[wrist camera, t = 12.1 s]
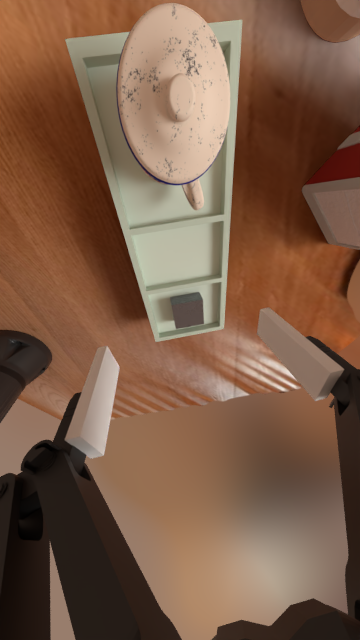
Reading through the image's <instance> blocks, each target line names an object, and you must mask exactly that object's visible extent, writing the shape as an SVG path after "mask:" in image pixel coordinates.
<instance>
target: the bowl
mask: <svg viewBox="0 0 360 640" xmlns="http://www.w3.org/2000/svg"><path fill="white" fill-rule="evenodd" d="M300 1H301V6H302V9H303V12H304V14H305V17H306V19H307V22H308V24H309V25H310V26H311V28H312V29H313V31H314V32H315V33H316V34H317V35H318V36H320V37H321V38H322V39H324V40H326V41H330V42H342V41H347V40H349V39H351V38H353V37H356V36H358V35H359V34H360V0H300Z"/></svg>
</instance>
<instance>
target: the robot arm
mask: <svg viewBox="0 0 360 640" xmlns="http://www.w3.org/2000/svg"><path fill="white" fill-rule="evenodd" d="M257 334H258V336H259V337H260V338H261V339H262V340H263V341H264V343H265V344H266V345H267V346H268V347H269V348H270V349H271V351H272V352H273V353H274V354H275V355H276V356H277V358H278V359H279V360H280V361H281V362H282V363H283V364H284V366H285V367H286V368H287V369H288V370H289V371H290V373H291V374H292V375H293V376H294V377H295V378H296V379H297V381H298V382H299V383H300V384H301V385H302V386H303V388H304V389H305V390H306V391H307V392H308V393H309V394H310V396H311V397H312V398H313V399H314V400H315V401H317V400H320V399H324V398H327V397H328V395H329V394H330V392H331V393H332V394H333V395H334V396H335V397H334V399H333V400H332V402H331V404H330V406H329V407H331V408H332V407H333V405H334V409H335V419H336V429H337V439H338V450H339V459H340V470H341V480H342V490H343V501H344V511H345V521H346V531H347V541H348V554H349V556H348V562H347V565H346V572H345V582H346V594H347V606H348V614H346V613H344V612H342V611H340V610H338V609H336V608H333V607H331V606H329V605H325V604H323V603H321V602H320V601H318V600H316V599H310V600H307V601H303V602H300V603H297V604H293V605H290V606H289V607H288V608H287V609H286V611H285V612H284V613H283V614H282V615H281V616H280V617H279V618H278V619H277V620H276V621H275V622H274V623H273V624H272V625H271V626H265V625H261V624H256V623H252V622H248V621H244V620H240V621H236V622H233V623H230V624H226V625H223V626H220V627H218V629H217V635H216V636H215V637H214V638H213V639H212V640H360V370H359V369H356V368H355V367H353V366H352V365H351V364H349V363H348V362H347V361H346V360H344V359H343V358H342V357H340V356H339V355H338V354H336V353H335V352H334V351H332V350H331V349H330V348H329V347H326V345H325V344H323V343H322V342H321V341H320V340H318V339H316V338H313V337H311V336H308V337H304V336H303V335H302V334H301V333H299V332H298V331H297V330H296V329H295V328H293V327H292V326H291V325H290V324H288V323H287V322H286V321H285V320H284V319H282V318H281V317H280V316H279V315H278V314H276V313H275V312H274V311H273V310H271V309H270V308H264V309H260V315H259V323H258V331H257ZM51 361H52V355H51V352H50V350H49V349H48V347H47V346H46V345H45V344H44V343H42V342H41V341H40V340H38V339H36V338H35V337H33V336H30V335H28V334H25V333H21V332H17V331H8V330H4V331H0V423H1V421H2V420H3V418H4V417H5V415H6V414H7V413H8V411H9V410H10V408H11V407H12V405H13V404H14V403H15V401H16V400H17V398H18V397H19V395H20V394H21V392H22V391H23V390H24V388H25V387H26V386H27V385H28V384H29V383H31V382H32V381H33V380H34V379H36V378H37V377H38V376H40V375H41V374H42V373H43V372H44V371H45V370H46V369H47V368H48V366H49V365H50V363H51ZM119 368H120V367H119V365H118V364H117V362H116V360H115V358H114V357H113V355H112V353H111V352H110V350H109V348H108V346H103V347H99V348H98V349H97V351H96V354H95V357H94V360H93V363H92V365H91V368H90V371H89V374H88V376H87V379H86V382H85V385H84V387H83V390H82V392H80V393H76V394H75V395H74V396H73V397H72V399H71V400H70V401H69V404H68V406H67V408H66V412H65V413H64V416H63V419H62V421H61V423H60V426H59V428H58V431H57V433H56V436H55V438H54V440H53V442H52V441H50V440H43V441H41V442H39V443H37V444H36V445H34V446H33V447H32V448H31V450H30V451H29V452H28V453H27V454H26V456H25V457H24V459H23V461H22V464H21V471H23V472H21V473H20V474H18V475H15V474H13V473H8V474H5V475H3V476H1V477H0V640H50V549H49V548H50V544H49V543H50V542H51V546H52V550H53V554H54V558H55V562H56V566H57V570H58V573H59V577H60V581H61V585H62V589H63V593H64V597H65V600H66V604H67V608H68V612H69V615H70V620H71V623H72V627H73V631H74V635H75V639H76V640H182V639H181V638H180V636H179V634H178V632H177V630H176V628H175V627H174V625H173V623H172V622H171V621H170V619H169V618H168V617H167V616H166V615H165V614H164V613H163V611H162V610H161V608H160V606H159V605H158V603H157V601H156V599H155V597H154V595H153V593H152V591H151V589H150V587H149V585H148V583H147V581H146V579H145V577H144V575H143V573H142V571H141V570H140V568H139V566H138V564H137V562H136V560H135V558H134V556H133V554H132V552H131V550H130V548H129V546H128V544H127V543H126V540H125V538H124V537H123V535H122V533H121V531H120V529H119V527H118V525H117V523H116V521H115V519H114V517H113V515H112V513H111V511H110V510H109V507H108V505H107V503H106V502H105V500H104V498H103V496H102V494H101V492H100V490H99V488H98V486H97V484H96V482H95V480H94V478H93V476H92V474H91V473H90V471H89V469H88V467H87V465H86V464H85V463H84V462H85V458H86V456H88V457H89V458H91V459H92V458H96V457H99V456H103V455H104V452H105V446H106V441H107V435H108V429H109V424H110V418H111V413H112V407H113V402H114V396H115V390H116V385H117V379H118V374H119Z"/></svg>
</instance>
